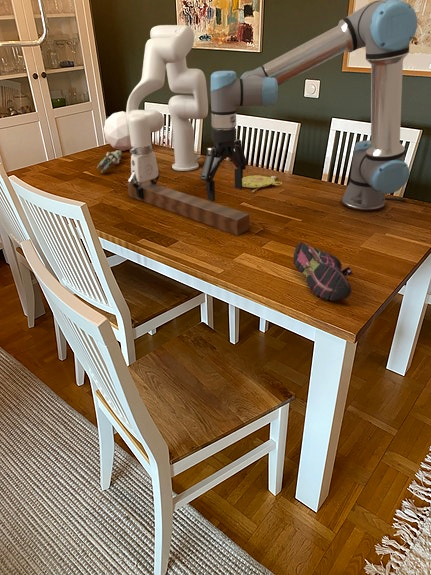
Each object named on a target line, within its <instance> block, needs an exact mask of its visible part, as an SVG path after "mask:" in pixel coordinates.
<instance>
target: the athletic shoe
mask: <svg viewBox="0 0 431 575" xmlns="http://www.w3.org/2000/svg"><path fill="white" fill-rule="evenodd" d="M292 263H293V266H294V265H295V266H294V267H295V268H296V270H298V272H300V273H302V274H303V275H304V276H305V277H306V283H307V286H308V288H309V289H310V290H311V291H312V294H314V295H315V296H316V297H319V299H324V300H326V301H328V300H330V301H339V300H343V299H347V298H348V297H349V296H351V294H352V287H351V284H350V283H349V280H348V279H347V277H348V276H351V275H353V276H354V275H355V274H354V273H353V270H352V269H351V267H349V266H348V267H345V268H343V264H342V262H341V260H340V259H339V258H338V257H336V256H335V255H333V254H331V253H329V252H327V251H323V250H321V249H319V248H315V247H312V246H311V245H309V244H307V243H306V242H299V243H298V244H296V247H295V249H294V252H293V258H292Z"/></svg>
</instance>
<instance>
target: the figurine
mask: <svg viewBox="0 0 431 575" xmlns="http://www.w3.org/2000/svg"><path fill="white" fill-rule="evenodd" d="M122 153H123V151H122V150H118V149H115V151H111V152H110V151H107V152H106V153H105V155H106V156H104V157H103V158H102V159H101V161H100V162H99V163H98V165H97V167H96V169H97V170H100V173H101V174H104V173H105V172H106V171H107V170H108V169H109V168H110V167H111V166H112V165H119V164H120V160H121V158H122V157H123V154H122Z"/></svg>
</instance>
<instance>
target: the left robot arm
mask: <svg viewBox="0 0 431 575" xmlns="http://www.w3.org/2000/svg"><path fill="white" fill-rule="evenodd" d="M149 37H150V38H149V39H148V40H146V43H145V45H144V53H143V64H142V71H141V79H140V81H139V82H138V83H137V84H136V85H135V87H134V88H133V89H132V91H131V92H130V94H129V96H128V99H127V102H126V108H125V110H126V111H125V112H126V123H127V126H128V127H129V132H130V140H131V148H132V149H129V153H130V154H131V155H130V173H131V175H130V177H129V178H128V180H127V183H130V184H131V185H132V186H133V187H134V188H136V194H137V197H138V198H140V199H143V190H142V189H141V185H142V182H146V181H147V182H150V183H153V184H157V185H158V181H159V178H160V176H161V174H162V170H160V169H159V167H158V161H157V157H156V154H155V151H153V148H152V146H153V145H152V135H151V133H152V134H153V133H156V132H159V131H161V130H162V129H163V128H164V125H165V118H164V114H162V112H160V111H158V110H149V109H139V107H140V104H141V102H142V101H143V100H144V99H145V98H146V97H147V96H149V95H151V94H152V93H154V92H156V91H159V90H160V89H162V88H163V87H164V85H165V78H166V75H167V81H168V86H169V89H170V91H171V93H174V94H177V95H173V96H171V97H170V99H169V100H168V112H169V116H170V121H171V129H172V142H173V154H174V163H172V164H171V169H172V170H174V171H177V172H189V171H190V172H191V171H194V170H197V169H198V168H199V167H200V165H199V163H198V162H197V161H198V160H200V159H201V158H202V156H201V155H200V154H197V155H196V152H195V150H196V148H195V131H194V125H193V124H192V122H191V121H190V120H203V119H205V118H207V117H208V113H209V100H208V99H209V98H208V89H207V88H208V87H207V80H206V79H207V78H206V76H205V72H204V71H203V70H201V69H199V68H189V67H188V65H187V59H186V57H187V56H188V54H189V53H190V52H191V50H192V48H193V46H194V44H195V32H194V30H193V29H192V27H191V26H189V25H188V24H160V25H156V26H153V27H152V28H151V30H150V31H149ZM190 94H191V95H190ZM134 181H135V183H134ZM138 182H139V184H138Z"/></svg>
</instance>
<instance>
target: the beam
mask: <svg viewBox="0 0 431 575" xmlns="http://www.w3.org/2000/svg"><path fill="white" fill-rule="evenodd" d="M150 182H151V181H146V182H142V185H141V189H142V190H143V199H140V198H138V197H137V194H136V188H134V187H133V186H132V185H131V184H130V183H128V182H127V184H126V185H127V192H128V197H129V198H133V199H136V200H138V201H141V202H143V203H146V204H149V205H152V206H155V207H157V208H160V209H163V210H165V211H168V212H172V213H174V214H177V215H179V216H182V217H185V218H188V219H191V220H193V221H196V222H199V223H201V224H205V225H207V226H210V227H212V228H215V229H218V230H220V231H221V230H222V231H224V232H227V233H229V234H232V235H234V236H239V235H241V234H243V233H245V232H247V231H249V230H250V213H247V212H244V211H241V210H238V209H235V208H232V207H229V206H225V205H222V204H219V203H216V202H214V201H211V200H208V199H204V198H200V197H197V196H194V195H192V194H187V193H185V192H181V191H179V190H176V189H173V188H170V187H166V186H162V185H160V184H158V183H157V184H153V183H150ZM134 183H135V180H134ZM138 184H139V182H138Z"/></svg>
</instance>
